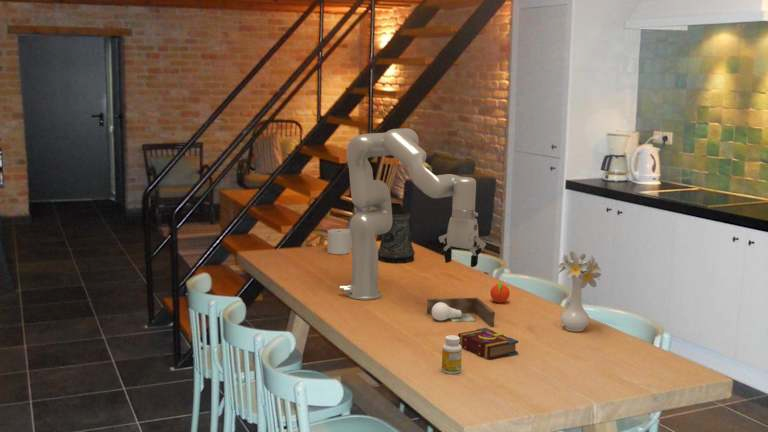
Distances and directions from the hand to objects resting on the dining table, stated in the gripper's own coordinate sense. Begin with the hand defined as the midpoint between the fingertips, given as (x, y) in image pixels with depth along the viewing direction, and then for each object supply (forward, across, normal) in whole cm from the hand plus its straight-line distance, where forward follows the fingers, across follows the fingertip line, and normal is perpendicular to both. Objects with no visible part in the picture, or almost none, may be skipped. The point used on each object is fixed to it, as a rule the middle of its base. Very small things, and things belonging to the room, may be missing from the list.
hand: (460, 264), depth 283 cm
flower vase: (+18, -38, -11) cm, 44 cm away
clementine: (+19, -3, -26) cm, 32 cm away
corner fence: (+19, -1, +2) cm, 19 cm away
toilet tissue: (+20, +94, -61) cm, 114 cm away
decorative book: (+19, -23, +25) cm, 39 cm away
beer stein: (+20, +66, -62) cm, 93 cm away
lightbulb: (+17, -2, 0) cm, 17 cm away
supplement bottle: (+18, -23, +48) cm, 56 cm away
